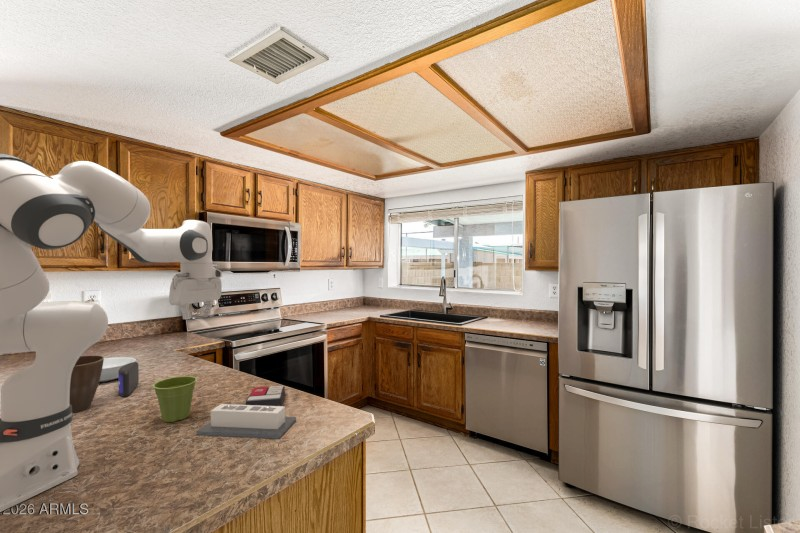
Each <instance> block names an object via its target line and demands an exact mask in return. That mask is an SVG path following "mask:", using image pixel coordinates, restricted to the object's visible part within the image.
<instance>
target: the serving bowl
mask: <svg viewBox="0 0 800 533" xmlns="http://www.w3.org/2000/svg"><path fill="white" fill-rule="evenodd" d="M132 362H137V359H136V358H134V357H130V356H129V357H128V356H120V357H119V356H117V357H115V356H114V357H113V356H112V357H104V361H103V367H102V372H101V376H100V380H99V383H105V382H110V381H114V380H117V379H118V371H119V369H120V368H121V367H122V366H124V365H126V364H129V363H132Z"/></svg>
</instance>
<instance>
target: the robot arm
mask: <svg viewBox="0 0 800 533" xmlns="http://www.w3.org/2000/svg"><path fill="white" fill-rule="evenodd" d="M150 216H151V204H150V200H149V199H148V197H147V195H145V194H144V193H143V192H142V191H141V190H140V189H139V188H138V187H136V186H135V185H134V184H132V183H131V182H129V181H128V180H127V179H125V178H123V177H122V176H121V175H119V174H117V173H115V172H114V171H112V170H110V169H108V168H107V167H104V166H102V165H100V164H98V163H95V162H93V161H87V160H78V161H73V162H70V163H68V164H66V165H65V166H64V167H62V168H61V169H60V170H59V172H58V173H57V174H54V175H50V176H49V175H46V174H44V173H43V172H42V171H40V170H38V169H36V167H35V166H33V165H32V164H31V163H30V162H28V161H25V160H24V159H21V158H19V157H18V156H13V155H10V154H7V153H0V355H2V354H3V355H5V354H16V353H18V354H19V353H27V352H28V353H30V352H35V359H34V361H33V363H32V364H30V365H28V366H26V367H25V366H24V367H23V368H21V369H20V370H17V371H15V372H14V373H12V374H10V375H9V376H8V377H6V379H5V380H4V381H3V382H2V385H1V387H0V513H1V512H3V511H5V510H8V509H10V508H11V507H15V506H16V505H18V504H21V503H22V502H24V501H26V500H29V499H30V498H33V497H35V496H37V495H39V494H41V493H43V492H45V491H48V490H50V489H51V488H53V487H55V486H57V485H60V484H62V483H63V482H64V483H65V482H66V481H68V480H70V479H72V478H74V477H76V476H78V466H79V465H80V460H79V458H78V455H77V452H76V448H75V445H74V441H73V434H72V428H71V426H72V425H71V422H72V421H73V414H74V413H72V405H71V404H70V382H71V374H72V371H73V368H74V366H75V364H76V362H77V360H78V359H79V357H80V356H83V354H84V353H85V352H86V351H87V350H88V349H89V348H91V347H92V346H93V345H95V344H97V342H99V341H100V340H101V339H102V338H103V337H104V335H105V334H106V332H107V329H108V326H109V320H108V319H109V317H108V315H107V312H106V311H105V310H104V308H103V307H102V306H101V305H99V304H97V303H94V302H93V303H92V302H87V301H86V302H85V301H76V300H67V301H66V300H65V301H44V300H45V299H46V297H47V296H48V294H49V292H50V282H49V279H48V278H47V275H46V274H45V272H44V270H43V268H42V266H41V264H40V263H39V261H38V260H39V259H38V258H37V257H36V254H35V252H34V251H33V250H32V247H35V248H38V249H42V250H48V251H50V250H51V251H52V250H53V251H54V250H59V249H60V250H61V249H63V248H65V247H68V246H71V245H73V244H74V243H75V242H77V241H79V240H80V239H81V238H82V237H83V236H84V234H86V232H87V231H88V230H89V228H90V226H91V225H92V224H93V222H94V223H95V224H96V226H97V228H98V229H99V230H100V231H101V232H103V233H104V234H105V235H107V236H108V237H110V238H111V239H113V240H114V241H115V242H116V243H119V245H121V246H123V247H124V248H126V249H127V251H128V252H129V253H130V254H131V255H132V256H133V257H134V259H135V260H137V261H138V262H139V263H142V264H152V263H153V264H154V263H180V273H176V274H175V275H174V276H173V277H172V279H171V283H170V286H169V292H168V294H169V296H168V302H169V304H170V305H171V306H179V310H180V312H181V313H182V320H190V319H191V318H192V312H190V311H189V308H190V305H191V304H197V303H204V304H205V306H204V308H203V309H202V315H203V316H209V315H211V313H212V312H211V310H212V308H213V305H214V301H216V300H220V299H221V297H222V291H223V290H222V286H223V284H222V280H221V278H222V276H223V272H222V270H220V269H218V268H216V267H214V266H213V259H212V252H213V234H212V229H211V226H210V224H209V223H208V222H206V221H203V220H199V219H186V220H183V221H182V224H181V226H179V227H177V228H144V226H145V225H146V223H147V222H148V221H149V219H150Z"/></svg>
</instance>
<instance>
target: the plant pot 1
mask: <svg viewBox="0 0 800 533" xmlns="http://www.w3.org/2000/svg"><path fill="white" fill-rule="evenodd" d="M104 358H105V357H104V356H102V355H81V356H80V357H79V359H78V360H77V362H76V364H75V366H74V368H73V371H72V374H71V382H70V404H71V405H72V414H75V413H79V412H82V411H85V410H88V409H89V408H90V407H91V404H92V403H93V400H94V397H95V394H96V393H97V390H98V387H99V384H100V382H99V380H100V376H101V372H102V367H103V361H104Z"/></svg>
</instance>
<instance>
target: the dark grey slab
mask: <svg viewBox="0 0 800 533" xmlns="http://www.w3.org/2000/svg"><path fill="white" fill-rule="evenodd" d="M139 373H140V372H139V362H137V361H136V362H132V363H129V364H126V365H124V366H122V367H121V368H120V369H119V371H118V378H117V379H118V380H117V381H118V382H117V385H118V394H119V396H121V397H123V398H125V397H128V396H130V395H131V393H132V392H133V391H134V390H135V388H136V387H137V386H138V385H139V379H140V376H139Z"/></svg>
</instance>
